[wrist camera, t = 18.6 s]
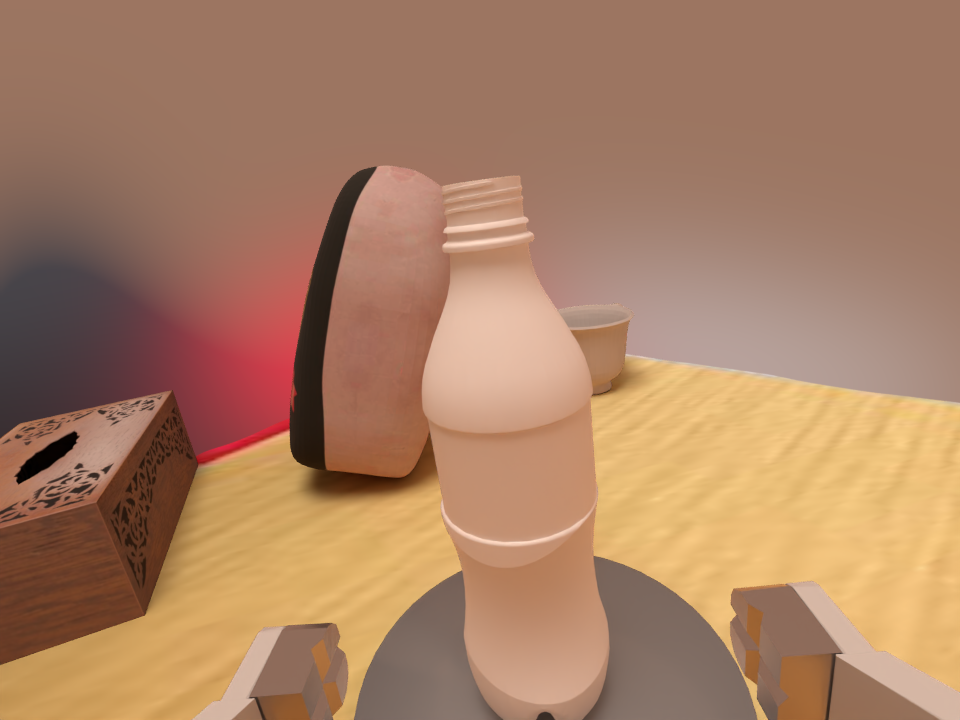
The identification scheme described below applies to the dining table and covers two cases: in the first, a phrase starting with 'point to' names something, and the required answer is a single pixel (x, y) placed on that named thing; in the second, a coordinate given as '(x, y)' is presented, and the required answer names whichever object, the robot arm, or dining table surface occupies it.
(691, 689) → the plate
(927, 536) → the dining table surface
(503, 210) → the water bottle
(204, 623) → the dining table surface
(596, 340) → the teacup
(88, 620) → the tissue box cover
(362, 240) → the packaged food
